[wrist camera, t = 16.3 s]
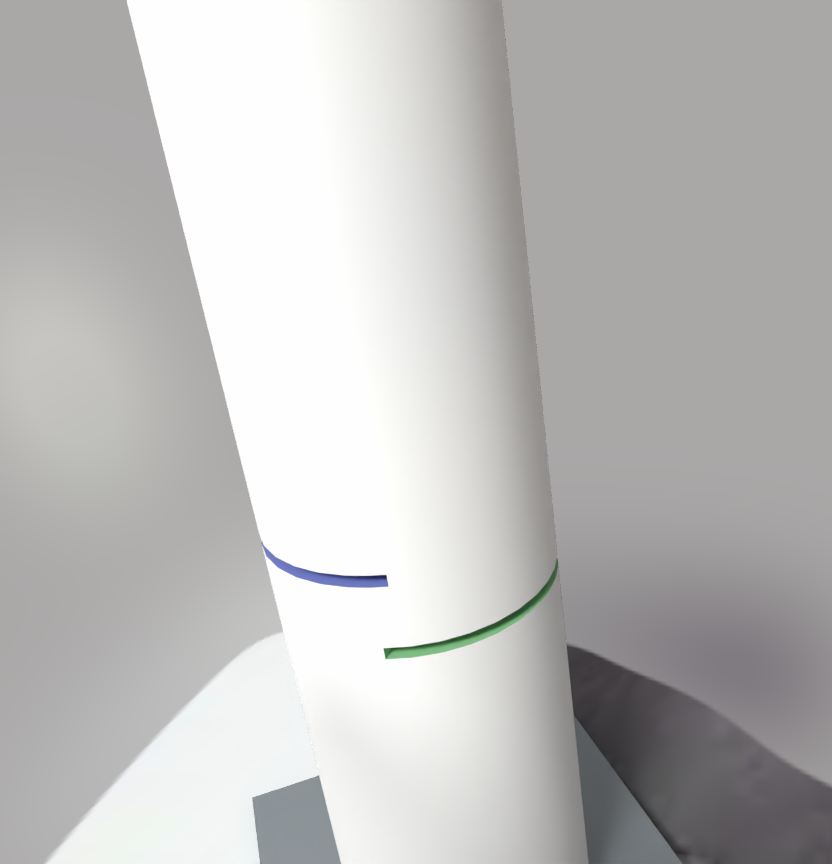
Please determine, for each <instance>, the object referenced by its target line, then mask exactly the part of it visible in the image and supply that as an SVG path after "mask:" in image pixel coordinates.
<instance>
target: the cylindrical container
mask: <svg viewBox="0 0 832 864" xmlns="http://www.w3.org/2000/svg"><path fill="white" fill-rule="evenodd" d="M127 4H128V8H129V12H130V16H131V20H132V24H133V28H134V32H135V36H136V40H137V44H138V48H139V52H140V56H141V60H142V64H143V68H144V72H145V76H146V80H147V84H148V88H149V93H150V97H151V101H152V104H153V109H154V113H155V117H156V121H157V125H158V128H159V133H160V137H161V141H162V145H163V149H164V153H165V157H166V161H167V165H168V169H169V173H170V177H171V181H172V185H173V189H174V193H175V197H176V201H177V205H178V209H179V213H180V217H181V221H182V225H183V230H184V234H185V237H186V242H187V246H188V249H189V254H190V257H191V262H192V266H193V270H194V273H195V278H196V282H197V286H198V290H199V294H200V298H201V302H202V306H203V310H204V314H205V318H206V322H207V326H208V330H209V334H210V338H211V342H212V346H213V350H214V354H215V358H216V362H217V366H218V370H219V374H220V378H221V382H222V386H223V390H224V394H225V399H226V403H227V407H228V410H229V415H230V418H231V422H232V427H233V431H234V435H235V438H236V443H237V447H238V451H239V455H240V458H241V463H242V467H243V471H244V475H245V479H246V483H247V487H248V491H249V495H250V499H251V503H252V507H253V511H254V515H255V519H256V523H257V527H258V531H259V534H260V537H261V539H262V547H263V551H264V555H265V559H266V563H267V568H268V572H269V575H270V580H271V584H272V588H273V592H274V596H275V600H276V604H277V608H278V612H279V616H280V620H281V624H282V627H283V632H284V636H285V640H286V644H287V648H288V652H289V656H290V660H291V664H292V668H293V672H294V676H295V680H296V684H297V688H298V692H299V697H300V701H301V705H302V709H303V713H304V717H305V721H306V725H307V729H308V733H309V737H310V741H311V745H312V749H313V753H314V757H315V761H316V765H317V769H318V773H319V777H320V781H321V785H322V789H323V793H324V797H325V801H326V805H327V809H328V813H329V817H330V821H331V825H332V829H333V833H334V837H335V841H336V845H337V849H338V853H339V857H340V862H341V864H589V863H588V853H587V843H586V833H585V823H584V813H583V804H582V794H581V784H580V774H579V764H578V754H577V744H576V734H575V724H574V715H573V705H572V695H571V685H570V675H569V665H568V655H567V645H566V635H565V626H564V616H563V606H562V596H561V586H560V576H559V566H558V560H557V546H556V536H555V525H554V515H553V505H552V495H551V485H550V475H549V465H548V455H547V445H546V435H545V426H544V417H543V406H542V396H541V386H540V376H539V366H538V356H537V346H536V336H535V326H534V318H533V317H534V316H533V307H532V296H531V286H530V277H529V267H528V257H527V248H526V237H525V227H524V217H523V208H522V198H521V187H520V178H519V168H518V158H517V148H516V138H515V128H514V118H513V108H512V99H511V88H510V79H509V69H508V59H507V49H506V39H505V29H504V20H503V10H502V0H127Z"/></svg>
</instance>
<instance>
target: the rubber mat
mask: <svg viewBox="0 0 832 864" xmlns="http://www.w3.org/2000/svg"><path fill="white" fill-rule="evenodd" d="M573 715H574V714H573ZM574 724H575V734H576V744H577V754H578V764H579V774H580V784H581V794H582V804H583V813H584V823H585V833H586V843H587V853H588V863H589V864H682V862H681V861H680V860H679V858H678V857H677V856H676V854H675V853H674V851H673V850H672V849H671V847H670V846H669V845H668V843H667V842H666V840H665V839H664V838H663V836H662V835H661V834H660V832H659V831H658V830H657V828H656V827H655V825H654V824H653V823H652V821H651V820H650V819H649V817H648V816H647V814H646V813H645V812H644V810H643V809H642V808H641V806H640V805H639V804H638V802H637V801H636V799H635V798H634V797H633V795H632V794H631V793H630V791H629V790H628V788H627V787H626V786H625V784H624V783H623V782H622V780H621V779H620V777H619V776H618V775H617V773H616V772H615V771H614V769H613V768H612V767H611V765H610V764H609V762H608V761H607V760H606V758H605V757H604V756H603V754H602V753H601V751H600V750H599V749H598V747H597V746H596V745H595V743H594V742H593V740H592V739H591V738H590V736H589V735H588V734H587V732H586V731H585V730H584V728H583V727H582V725H581V724H580V723H579V721H578V720H577V719H576V717H575V716H574ZM252 799H253V807H254V815H255V824H256V832H257V840H258V849H259V857H260V864H341V862H340V857H339V853H338V849H337V845H336V841H335V837H334V833H333V829H332V825H331V821H330V817H329V813H328V809H327V805H326V801H325V797H324V793H323V789H322V785H321V781H320V777H319V776H317V777H314V778H311V779H308V780H305V781H302V782H299V783H296V784H293V785H290V786H287V787H284V788H281V789H277V790H274V791H271V792H268V793H265V794H262V795H259V796H256V797H253V798H252Z"/></svg>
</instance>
